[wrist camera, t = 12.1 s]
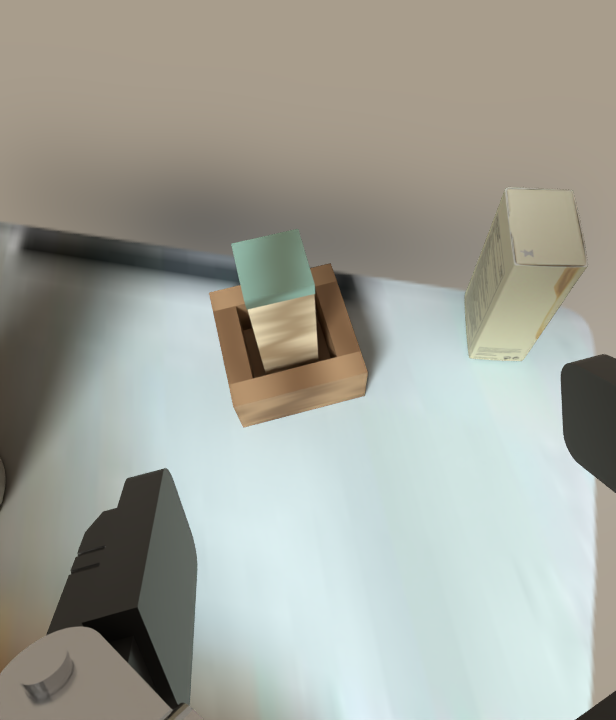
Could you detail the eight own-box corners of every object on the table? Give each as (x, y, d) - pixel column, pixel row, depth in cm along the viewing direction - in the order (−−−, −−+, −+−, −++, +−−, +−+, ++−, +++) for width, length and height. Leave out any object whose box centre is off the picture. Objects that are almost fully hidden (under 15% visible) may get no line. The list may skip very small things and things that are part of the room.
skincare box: (523, 363, 42) (592, 272, 31) (466, 360, 42) (514, 269, 31) (516, 292, 44) (576, 185, 33) (462, 290, 45) (505, 184, 34)
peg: (267, 384, 41) (244, 300, 30) (257, 338, 43) (231, 243, 32) (319, 371, 41) (314, 284, 30) (307, 326, 43) (298, 228, 32)
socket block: (243, 427, 40) (233, 407, 36) (220, 321, 44) (209, 292, 40) (364, 395, 41) (367, 372, 37) (330, 294, 45) (330, 263, 41)
